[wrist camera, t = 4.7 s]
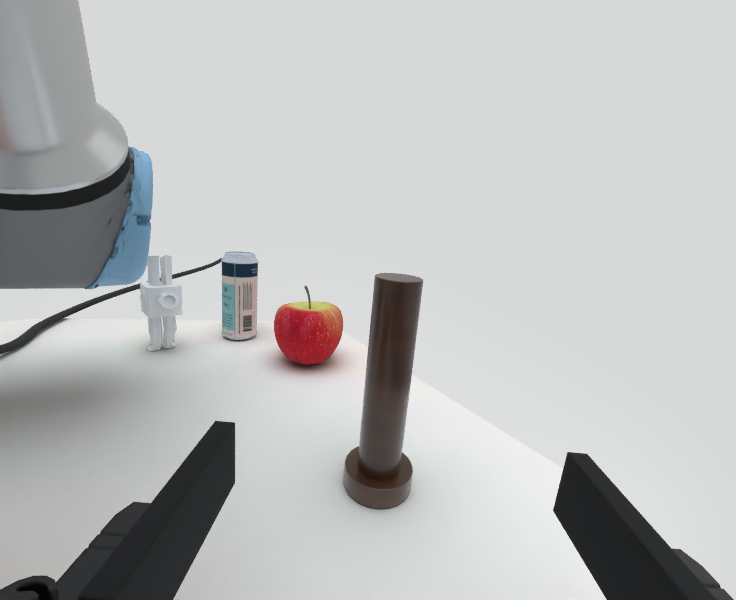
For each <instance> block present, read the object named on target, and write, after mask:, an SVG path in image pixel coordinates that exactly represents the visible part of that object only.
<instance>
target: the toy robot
mask: <svg viewBox="0 0 736 600" xmlns="http://www.w3.org/2000/svg"><path fill="white" fill-rule="evenodd" d="M147 265H148V282H140V292H141V296H140V297H141V308H142V311H143V312H144V313H145V314H146V315H147V316H148V325H149V334H150V343H151V345H150V346H149V347H148V348H147V350H150V351H154V350H159V349H160V348H161V346H162V321H161V317H163V327H164V332H163V347H164V348H174V347H175V346H176V343H175V342H174V338H175V332H176V329H177V327H176V320H175V315H181V314H182V290H181V286H180V285H179V284H177V283H175V282H174V281H172V266H171V256H163V257H160V266H161V281H160V277H159V256H148V259H147Z"/></svg>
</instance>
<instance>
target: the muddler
mask: <svg viewBox="0 0 736 600" xmlns="http://www.w3.org/2000/svg"><path fill="white" fill-rule="evenodd" d="M422 286H423V280H422V279H421V278H419V277H415V276H411V275H405V274H395V273H381V274H377V275H375V281H374V292H373V303H372V315H371V325H370V335H369V346H368V357H367V368H366V379H365V390H364V400H363V411H362V422H361V433H360V444H359V447H356V448H355V449H353V450H352V451H351V452H350V453H349V454H348V455H347V457H346V460H345V469H344V486H345V489H346V491H347V493H348V494H349V495H350V497H351V498H352V499H354V500H355V501H356V502H358V503H360V504H362V505H364V506H366V507H370V508H375V509H387V508H392V507H395V506H397V505H399V504H401V503H402V502H403V501H404V500H405V499H406V498H407V496H408V495H409V492H410V487H411V479H412V472H413V471H412V465H411V462H410V460H409V459H408V458H407V456H406V455H405V454H403V453H402V447H403V439H404V431H405V423H406V415H407V407H408V399H409V391H410V383H411V375H412V367H413V358H414V350H415V342H416V334H417V326H418V318H419V309H420V302H421V294H422Z"/></svg>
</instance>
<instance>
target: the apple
mask: <svg viewBox="0 0 736 600" xmlns="http://www.w3.org/2000/svg"><path fill="white" fill-rule="evenodd" d="M305 289H306V291H307V294H308V299H309V302H297V303H288V304H285V305H282V306H281V307H280V308H279V309H278V311H277V313H276V316H275V321H274V332H275V337H276V340H277V343H278V345H279V347H280V349H281V351H282V352H283V354H284V355H285V356H286V357H287V358H289V359H290V360H292V361H294V362H296V363H298V364H303V365H312V364H318V363H321V362H323V361H325V360H326V359H327V358H329V357H330V356H331V355H332V353H333V352H334V351H335V349H336V347H337V346H338V344H339V341H340V339H341V335H342V330H343V318H342V314H341V311H340V310H339V308H338V307H336V306H335V305H333V304H330V303H326V302H310V295H309V291H308V288H307V286H305Z"/></svg>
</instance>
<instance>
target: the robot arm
mask: <svg viewBox="0 0 736 600" xmlns="http://www.w3.org/2000/svg"><path fill="white" fill-rule="evenodd" d="M152 191H153V173H152V162H151V158H150V157H149V155H148V154H146V153H144V152H142V151H138V150H137V149H135V148H133V147H128V140H127V136H126V134H125V131H124V129H123V127H122V125H121V124H120V123H119V121H118V120H117V119H116V118H115V117H114V116H113V115H112V114H111V113H110V112H109V111H107V110H106V109H105V108H104V107H102V106H101V105H99V104H98V103H97V102H96V99H95V93H94V87H93V82H92V76H91V70H90V64H89V59H88V54H87V48H86V42H85V36H84V30H83V25H82V19H81V13H80V7H79V2H78V0H0V289H14V288H15V289H24V288H25V289H26V288H27V289H28V288H85V289H94V288H96V287H98V286H113V285H127V284H131V283H133V282H136V281H137V280H138V279H140V277H141V276H142V275H143V273H144V271H145V269H146V265H147V259H148V252H149V243H150V230H151V223H150V219H151V210H152V193H153V192H152ZM221 259H222V258H221ZM221 259H219V260H217V261H215V262H213V263H211V264H208V265H205V266H202V267H199V268H196V269H192V270H189V271H185V272H181V273H177V274H174V275H172V279H174V278H178V277H181V276H185V275H188V274H192V273H195V272H198V271H201V270H204V269H207V268H209V267H212V266H214V265H216V264H218V263H220V262H221ZM160 281H161V278H160ZM147 282H148V281H147ZM136 289H140V284H137V285H134V286H131V287H127V288H124V289H120V290H117V291H114V292H111V293H108V294H105V295H103V296H100V297H97V298H94V299H92V300H89V301H86V302H84V303H81V304H79V305H76V306H74V307H72V308H69V309H67V310H65V311H62V312H60V313H58V314H55V315H53V316H51V317H49V318H47V319H45V320H43V321H41V322H39V323H37V324H36V325H34V326H32V327H31V328H30V329H29V330H27V331H26V332H25V333H24V334H22V335H21V336H20V337H18V338H17V339H15V340H13V341H11V342H9V343H6V344H3V345H0V354H2V353H6V352H8V351H11V350H14V349H16V348H18V347H20V346H22V345H23V344H25V343H26V342H28V341H29V340H30V339H31V338H33V337H34V336H35V335H36V334H37V333H38V332H40V331H41V330H42V329H44V328H46V327H47V326H49V325H51V324H53V323H55V322H57V321H59V320H61V319H63V318H65V317H67V316H69V315H71V314H73V313H76V312H78V311H80V310H82V309H85V308H87V307H89V306H92V305H94V304H97V303H99V302H102V301H104V300H107V299H110V298H113V297H115V296H118V295H121V294H124V293H127V292H130V291H133V290H136ZM234 483H235V423H233V422H221V421H215V422H214V424H213V425H212V426H211V427H210V429H209V430H208V431H207V433H206V434H205V435H204V436H203V438H202V439H201V440H200V441H199V443H198V444H197V445H196V447H195V448H194V449H193V450H192V452H191V453H190V454H189V455H188V457H187V458H186V459H185V461H184V462H183V463H182V464H181V466H180V467H179V468H178V469H177V471H176V472H175V473H174V475H173V476H172V477H171V478H170V480H169V481H168V482H167V484H166V485H165V486H164V487H163V489H162V490H161V491H160V492H159V494H158V495H157V496H156V498H155V499H154V500H153V501H152V503H141V502H133V503H132V504H130V505H129V506H127V507H126V508H124V509H123V510H122V511H120V512H119V513H117V514H116V515H115V516H114V517H113V518H112V519H111V520H110V521H109V523H108V524H107V525H106V526H105V527H104V528H103V529H102V531H101V533H100V535H97V536H96V537H95V539H94V540H93V541H92V542H91V543H90V544H89V547H88V548H86V549H85V550H84V551H83V552H82V554H81V555H80V556H79V557H78V558H77V559H76V560H75V562H74V563H73V564H72V565H71V566H70V567H69V568H68V570H67V571H66V572H65V573H64V574H63V575H62V576H61V578H60V579H59V580H58V581H57V582H56V583H55V580H54V579H52V578H50V577H48V576H32V577H28V578H25V579H22V580H18V581H16V582H14V583H12V584H10V585H9V586H7V587H5V588H3V589H1V590H0V600H173V598H174V597H175V595H176V593H177V591H178V589H179V587H180V585H181V583H182V581H183V580H184V578H185V576H186V574H187V572H188V570H189V568H190V566H191V564H192V563H193V561H194V559H195V557H196V555H197V553H198V551H199V549H200V547H201V546H202V544H203V542H204V540H205V538H206V536H207V534H208V532H209V530H210V529H211V527H212V525H213V523H214V521H215V519H216V517H217V515H218V513H219V512H220V510H221V508H222V506H223V504H224V502H225V500H226V498H227V497H228V495H229V493H230V491H231V489H232V487H233V485H234ZM553 511H554V513H555V515H556V516H557V518H558V520H559V521H560V523H561V524H562V526H563V528H564V529H565V531H566V533H567V534H568V536H569V538H570V539H571V541H572V543H573V544H574V546H575V548H576V549H577V551H578V553H579V554H580V556H581V558H582V559H583V561H584V563H585V564H586V566H587V568H588V569H589V571H590V572H591V574H592V576H593V577H594V579H595V581H596V582H597V584H598V586H599V587H600V589H601V591H602V592H603V594H604V596H605V597H606V599H607V600H733V599H732V597H731V596H730V595H729V594H728V593H727V592H726V591H725V590H724V589H721V588H720V585H719V584H718V583H717V581H716V580H715V579H714V578H713V577H712V576H711V575H710V574H709V573H708V572H707V571H706V570H705V569H704V568H703V566H701V565H700V564H699V563H697V562H696V561H695V560H693V559H692V558H691V557H690V556H688V555H687V554H686V553H684V552H683V551H682V550H680V549H671V548H670V546H668V544H667V543H666V542H665V541H664V540H663V539H662V538H661V536H660V535H659V534H658V533H657V532H656V531H655V530H654V529H653V527H652V526H651V525H650V524H649V523H648V522H647V521H646V520H645V518H644V517H643V516H642V515H641V514H640V513H639V512H638V511H637V509H636V508H635V507H634V506H633V505H632V504H631V503H630V502H629V501H628V499H627V498H626V497H625V496H624V495H623V494H622V493H621V492H620V491H619V489H618V488H617V487H616V486H615V485H614V484H613V483H612V482H611V481H610V479H609V478H608V477H607V476H606V475H605V474H604V472H602V470H601V469H600V468H599V467H598V466H597V465H596V463H595V462H594V461H593V460H592V459H591V458H590V457H589V456H588V455H587V454H582V453H571V452H568V453H567V457H566V461H565V465H564V469H563V473H562V477H561V481H560V485H559V489H558V493H557V497H556V501H555V505H554V509H553Z"/></svg>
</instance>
